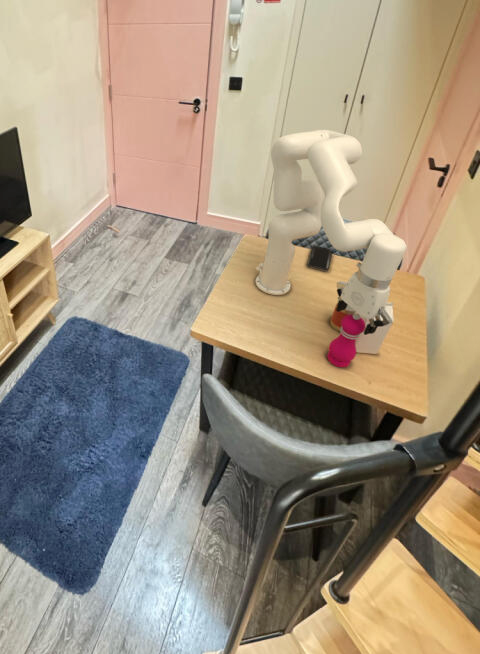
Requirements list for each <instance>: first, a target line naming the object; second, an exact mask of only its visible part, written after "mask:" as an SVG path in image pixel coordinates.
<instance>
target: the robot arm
mask: <svg viewBox="0 0 480 654" xmlns="http://www.w3.org/2000/svg"><path fill="white" fill-rule="evenodd" d="M270 150H271V151H270V158H271V163H272V167H273V204H274V207H275V209H276V210H278V211H280V212H286V213H282V214H278V215H276V216H273V217H272V218H271V219H270V220H269V222H268V228H267V229H268V237H267V245H266V249H265V255H264V261H263V262H260V263H258V266H256V267H255V269H256V270H257V271H258V272H259V273H258V275H257V276H256V277H255V281H254V283H255V285H256V287H257V288H258V289H259V290H260V291H261V292H263V293H265V294H268V295H271V296H282V295H286V294H287V293H288V292H290V290H291V282H290V281H289V277H290V273H291V269H292V265H293V262H294V258H295V253H296V247H295V244H294V243H293V241H296V240H300V239H304V238H309V237H313V236H316V235H317V234H319V233H320V232H321V229H322V230H323V231H324V233H325V235H326V238H327V240H328V241H329V243H330V245H332V247H333V248H334V249H335V250H337V251H339V252H344V253H345V252H352V251H357V250H363V249H367V250H366V251H365V254H364V257H363V258H362V259H363V260H362V262H357V263H356V267H357V268H358V269H357V271H355V272H353V273H352V275H351V276H350V278H349V279H348V281H347V282H346V281H337V282H336V288H337V289H336V292H337V296H338V297H337V302H338V300H339V302H338V304H337V303H336V304H337V308H336V311H337V312H339V311H342V310H345V309H346V307H347V305H349V306H350V307H352V308H353V309H354V310H355V311H357V312H358V313H359V314H360V315H362V316H363V317H364V318H366V319H369V322H370V323H369V324H367V326H366V328H365V330H364V334H365V335H367V334H370V333H371V334H373V333H374V332H375V331H376V329H377V327H382V326H385V325H387V324H390V323H392V322H393V323H394V321H392V319H391V318H390V316H389V315H388V313H387V312H386V310H385V307H386V304H387V303H388V301H389V298H390V293H391V286H390V285H391V282H392V281H393V278H394V276H395V275H396V272H397V270H398V268H399V266H400V264H401V262H402V260H403V258H404V257H405V253H406V252H407V249H408V246H407V243H406V242H405V240H404V239H403V238H401V237H399V235H395V234H394V233H393V232H392V231H391V230H390V229H389V227H388V226H387V224H385V222H383V221H382V220H380V219H377V218H368V219H362V220H357V221H350V222H345V220H344V219H343V217H342V215H341V212H340V202H341V200H342V198H343V197H345V196H347V195H349V194H350V193H351V192H353V191H354V190H355V189H356V188H357V187H358V179H357V177H356V176H355V174H354V172H353V169H352V168H351V165H353V164H356V163H357V162H359V161H360V159H361V158H362V155H363V148H362V144H361V142H360V141H359V140H358V139H357V138H356V137H354V136H352V135H350V134H345V133H342V132H337V131H334V130H330V129H317V130H309V131H303V132H296V133H290V134H287V135H283V136H280V137H279V138H277V139H276V140H275V141H274V143H273V144H272V146H271V149H270ZM301 160H308V162H309V165H310V167H311V168H312V171H313V173H314V175H315V177H316V179H317V181H316V180H314V179H305V180H303V179H302V177H303V170H302V167H301V165H300V163H299V162H298V161H301ZM296 210H298V211H296ZM299 210H300V211H299ZM288 211H293V212H288ZM380 315H381V317H382V318H383V321H381V318H380ZM374 317H375V319H376V321H374ZM393 323H392V324H393Z"/></svg>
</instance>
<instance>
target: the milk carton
mask: <svg viewBox="0 0 480 654" xmlns="http://www.w3.org/2000/svg"><path fill="white" fill-rule="evenodd" d="M393 307H394V302H387V304H386V307H385V310H386V312H387V313H388V315H389V316H390V318H391V319H392V321H393V322H392V323H390V324H387V325H385V326H382V327H377V329H376V331H375V332H374V333H373V334H371V333H370V334H367V335H365V334H364V331H363V332H362V333H360V335H359V338H357V339H356V341H355V347H356V353H361V354H371V355H377V354H378V353H379V351H380V349H381V347H382V345H383V344H384V341H385V339H386V338H387V335H388V333H389V331H390V329H391V327H392V325H393V323H394V321H395V319H394V308H393ZM355 314H359V313H358V312H357V311H356V312H355ZM359 315H360V314H359ZM360 317H361V318H362V319H363V320H364V322H365V328H366V326H367V324H369V323H370V322H369V319H366V318H364V317H363V316H362V315H360ZM380 318H381V321H383V318H382V317H381V315H380ZM374 321H376V319H375V317H374Z"/></svg>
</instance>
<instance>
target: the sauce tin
mask: <svg viewBox="0 0 480 654" xmlns="http://www.w3.org/2000/svg"><path fill="white" fill-rule="evenodd" d="M338 302H339V300H338V299H337V302H336V304H335V306H334V309H333V312H332V315H331V317H330V320H329V324H330V326H331V327H332V328H333V329H334V330H336V331H338V332H340V329H341V326H342V325H341V321H342V319H343V318H344V317H345V316H347V315H354V314H355V312H356V311H355V310H354V309H353V308H352V307H350V306H349V305H347V307H346V309H345V310H342V311H339V312H337V311H336V308H337V304H338Z"/></svg>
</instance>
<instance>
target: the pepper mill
mask: <svg viewBox="0 0 480 654" xmlns="http://www.w3.org/2000/svg"><path fill="white" fill-rule="evenodd" d="M341 325H342V326H341V329H340V331H339V332H340V334H339V335H338V336H337V337H336V338H333V340H332V341H331V342H330V343H329V345H328V352H327V356H326V357H327V360H328V361H329V362H330V363H331V364H332V365H334V366H335V367H338V368H347V367H349V366H350V364H351V362H352V361H353V360H354V359H355V358H356V355H357V352H356V347H355V341H356V339H357V338H359V335H360V333H362V332H363V331H364V330H365V322H364V320H363V319H362V318H361V317H360V315H359V314H354V315H347V316H345V317H344V318H343V319H342V321H341Z"/></svg>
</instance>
